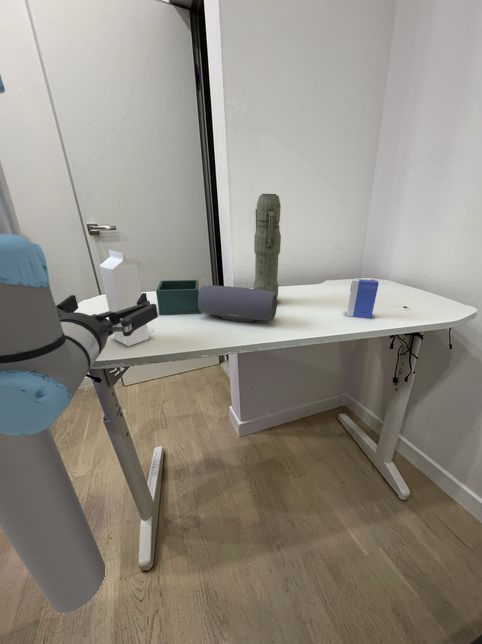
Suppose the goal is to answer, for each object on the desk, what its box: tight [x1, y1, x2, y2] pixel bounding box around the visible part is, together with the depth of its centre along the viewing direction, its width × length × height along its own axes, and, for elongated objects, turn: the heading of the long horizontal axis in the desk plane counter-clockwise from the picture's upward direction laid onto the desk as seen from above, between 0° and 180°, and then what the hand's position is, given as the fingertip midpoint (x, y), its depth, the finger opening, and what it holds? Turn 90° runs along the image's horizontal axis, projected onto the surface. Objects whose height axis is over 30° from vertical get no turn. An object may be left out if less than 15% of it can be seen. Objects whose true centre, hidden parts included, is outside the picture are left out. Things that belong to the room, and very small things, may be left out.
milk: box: [99, 249, 150, 347], centre depth 71 cm, size 6×6×22 cm
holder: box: [155, 279, 201, 316], centre depth 97 cm, size 13×13×8 cm
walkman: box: [346, 278, 380, 319], centre depth 94 cm, size 8×3×12 cm, turn 76°
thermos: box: [253, 193, 282, 297], centre depth 99 cm, size 9×12×35 cm
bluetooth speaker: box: [198, 284, 278, 323], centre depth 88 cm, size 23×9×10 cm, turn 76°
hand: (110, 300), depth 60 cm, fingers open, 13 cm apart
